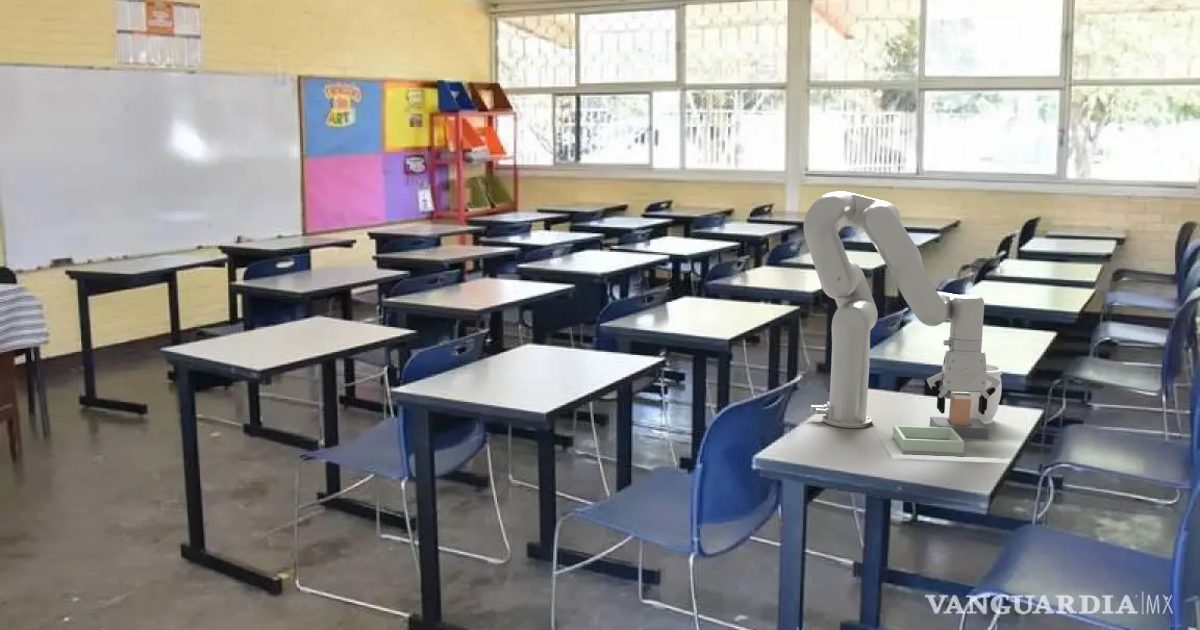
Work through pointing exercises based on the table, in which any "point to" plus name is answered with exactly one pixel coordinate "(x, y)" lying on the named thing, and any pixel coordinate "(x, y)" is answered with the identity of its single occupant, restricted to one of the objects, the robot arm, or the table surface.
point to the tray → (949, 445)
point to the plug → (960, 408)
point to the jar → (991, 401)
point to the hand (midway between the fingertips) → (961, 412)
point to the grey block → (963, 427)
